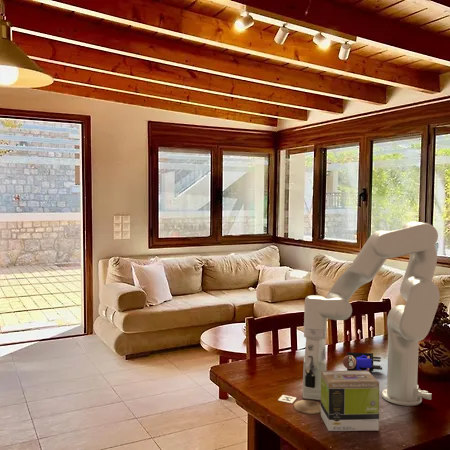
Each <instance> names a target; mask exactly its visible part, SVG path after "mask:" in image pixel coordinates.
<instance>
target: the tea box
mask: <svg viewBox="0 0 450 450" xmlns="http://www.w3.org/2000/svg"><path fill="white" fill-rule="evenodd" d="M320 404H321V412H320V417H321V419H322V421H323V422H324V424H325V426H326V428H327V431H328V432H351V431H352V432H353V431H355V432H357V431H359V432H360V431H369V432H370V431H372V432H373V431H375V432H376V431H380V381H379V380H378V379H376V377H375V376H374V375H373V374H371V371H366V370H365V371H359V370H325V371H321V400H320Z"/></svg>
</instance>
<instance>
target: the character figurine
mask: <svg viewBox="0 0 450 450" xmlns="http://www.w3.org/2000/svg"><path fill="white" fill-rule="evenodd" d="M381 359H382V357H381V356H374V352H371V353H370V352H369V353H368V352H351V351H349V352H348V351H347V352H346V355H345V356H344V357H343V359H342V364H343V367H345V368H346V371H365V370H366V371H369V372H374V370H378V371H379V370H381V371H382V370H383V367H382V366H381V365H380V364H379V365H376V364H374V362H379V363H380V362H382V360H381Z"/></svg>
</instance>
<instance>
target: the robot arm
mask: <svg viewBox="0 0 450 450" xmlns="http://www.w3.org/2000/svg"><path fill="white" fill-rule="evenodd" d="M438 240H439V233H438V230H437V229H436V227H434V226H433V225H432V224H431V223H427V222H421V221H408V222H406V223H405V224H404V225H402V227H401V228H399V229H395V230H394V229H393V230H384V229H383V230H382V229H381V230H376V231H374V232H372V233H371V235H370V236H369V237H368V239H367V240H366V242H365V243H364V244H363V247H362V248H361V249H360V250H359V252H358V254H357V255H356V257H355V259H354V260H353V262H351V264H350V266H349V267H348V268H347V269H345V271H344V272H343V273H342V274H341V275H340V276H339V277H338V278H337V279H336V281H335V282H334V284H333V285H332V286H331V288H330V289H329V291H328V293H327V295H326V296H323V295H317V294H315V295H314V294H311V295H307V296H306V297H305V299H304V311H303V312H304V313H303V314H304V316H303V319H304V320H303V321H304V322H303V337H304V338H305V347H304V356H305V366H306V370H305V386H306V387H310V388H315V376H314V374H315V369H316V368H317V369H320V363H321V362H322V361H323V360H324V358H325V361H327V360H326V359H327V357H326V353H327V351H326V339H327V332H328V331H327V330H328V329H327V325H328V324H327V323H328V319H329V320H334V321H346V320H348V319H350V317H351V316H352V313H353V308H352V307H353V306H352V304H351V303H350V299H351V298H352V296H353V295H354V293H356V291H357V290H358V289H359V288H360V287H362V286H364V285H365V284H367V283H370V282H371V281H372V280H374V279H375V277H376V276H377V274H378V273H379V272H380V271H381V270H380V269H381V268H382V267H383V265H384V263H385V262H386V260H387V259H395V258H399V257H403V256H408V255H409V259H408V263H407V266H406V269H405V272H404V276H403V278H402V281H401V284H400V287H399V294H400V296H401V297H402V299H404V301H406V302H405V304H398V305H395V306H393V307H392V308H391V309H390V310H389V312H388V314H387V319H386V321H387V322H386V324H387V335H388V336H387V337H388V341H387V342H388V344H387V350H388V351H387V375H386V376H387V377H386V379H387V381H386V388H385V389H383V390H382V392H381V396H382V398H383V399H384V400H386V401H387V402H389V403H392V404H395V405H399V406H407V407H413V406H418V405H420V404H421V403H422V401H423V399H426V400H432V393H430V392H429V391H428V390H424V389H423V390H421V388H419V384H418V372H419V371H418V367H419V365H418V364H419V342H421V341H422V340H425V338H426V337H427V336H428V335H429V333H430V330H431V328H432V326H433V321H434V318H435V315H436V313H437V311H438V307H439V304H440V289H439V287H438V286H437V284H436V283H434V281H433V278H434V274H435V270H436V268H437V262H438V253H437V248H436V246H435V245H436V243H437V242H438ZM312 360H313V361H312ZM312 362H313V364H314V366H311V363H312ZM310 369H313V371H312V370H310Z"/></svg>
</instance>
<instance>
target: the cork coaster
mask: <svg viewBox="0 0 450 450" xmlns="http://www.w3.org/2000/svg"><path fill="white" fill-rule="evenodd" d="M293 408H294V410H296V411H298V412H299V413H301V414H307V415H313V414H315V415H316V414H319V413H321V402H320V403H319V402H318V401H315V400H312V399H302V400H297V401H294V402H293Z"/></svg>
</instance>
